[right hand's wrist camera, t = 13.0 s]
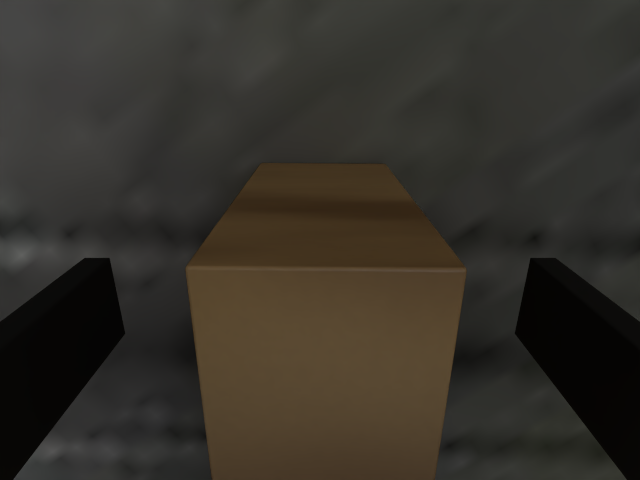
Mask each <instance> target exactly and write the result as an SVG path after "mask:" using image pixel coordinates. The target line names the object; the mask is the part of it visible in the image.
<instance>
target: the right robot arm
mask: <svg viewBox="0 0 640 480" xmlns="http://www.w3.org/2000/svg"><path fill="white" fill-rule="evenodd" d="M124 334H125V330H124V326H123V321H122V316H121V311H120V306H119V302H118V297H117V292H116V287H115V282H114V278H113V273H112V268H111V263H110V258H84V259H83V260H81V261H80V262H79V263H77V264H76V265H75V266H73V267H72V268H71V269H70V270H68V271H67V272H66V273H64V274H63V275H62V276H60V277H59V278H58V279H56V280H55V281H54V282H52V283H51V284H50V285H48V286H47V287H46V288H44V289H43V290H42V291H40V292H39V293H38V294H37V295H35V296H34V297H33V298H31V299H30V300H29V301H27V302H26V303H25V304H23V305H22V306H21V307H19V308H18V309H17V310H15V311H14V312H13V313H11V314H10V315H9V316H7V317H6V318H5V319H4V320H2V321H1V322H0V480H13V479H14V478H15V476H16V475H17V474H18V472H19V471H20V470H21V468H22V467H23V466H24V465H25V463H26V462H27V461H28V459H29V458H30V457H31V455H32V454H33V453H34V452H35V450H36V449H37V448H38V446H39V445H40V444H41V442H42V441H43V440H44V438H45V437H46V436H47V435H48V433H49V432H50V431H51V429H52V428H53V427H54V425H55V424H56V423H57V422H58V420H59V419H60V418H61V416H62V415H63V414H64V412H65V411H66V410H67V409H68V407H69V406H70V405H71V403H72V402H73V401H74V399H75V398H76V397H77V396H78V394H79V393H80V392H81V390H82V389H83V388H84V386H85V385H86V384H87V383H88V381H89V380H90V379H91V377H92V376H93V375H94V373H95V372H96V371H97V369H98V368H99V367H100V366H101V364H102V363H103V362H104V360H105V359H106V358H107V356H108V355H109V354H110V353H111V351H112V350H113V349H114V347H115V346H116V345H117V343H118V342H119V341H120V340H121V338H122V337H123V336H124ZM515 334H516V336H517V337H518V338H519V340H520V341H521V342H522V343H523V345H524V346H525V347H526V349H527V350H528V351H529V353H530V354H531V355H532V356H533V358H534V359H535V360H536V362H537V363H538V364H539V366H540V367H541V368H542V369H543V371H544V372H545V373H546V375H547V376H548V377H549V379H550V380H551V381H552V382H553V384H554V385H555V386H556V388H557V389H558V390H559V392H560V393H561V394H562V396H563V397H564V398H565V399H566V401H567V402H568V403H569V405H570V406H571V407H572V409H573V410H574V411H575V412H576V414H577V415H578V416H579V418H580V419H581V420H582V422H583V423H584V424H585V425H586V427H587V428H588V429H589V431H590V432H591V433H592V435H593V436H594V437H595V438H596V440H597V441H598V442H599V444H600V445H601V446H602V448H603V449H604V450H605V452H606V453H607V454H608V455H609V457H610V458H611V459H612V461H613V462H614V463H615V465H616V466H617V467H618V468H619V470H620V471H621V472H622V474H623V475H624V476H625V478H626V479H627V480H640V322H639V321H638V320H636V319H635V318H634V317H633V316H631V315H630V314H629V313H627V312H626V311H625V310H623V309H622V308H621V307H619V306H618V305H617V304H615V303H614V302H613V301H611V300H610V299H609V298H607V297H606V296H605V295H603V294H602V293H601V292H600V291H598V290H597V289H596V288H594V287H593V286H592V285H590V284H589V283H588V282H586V281H585V280H584V279H582V278H581V277H580V276H578V275H577V274H576V273H574V272H573V271H572V270H570V269H569V268H568V267H567V266H565V265H564V264H563V263H561V262H560V261H559V260H557V259H556V258H530V263H529V268H528V273H527V278H526V282H525V287H524V292H523V297H522V302H521V306H520V311H519V316H518V321H517V326H516V330H515Z"/></svg>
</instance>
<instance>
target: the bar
mask: <svg viewBox="0 0 640 480" xmlns="http://www.w3.org/2000/svg"><path fill="white" fill-rule="evenodd" d="M185 271H186V279H187V287H188V295H189V303H190V311H191V318H192V326H193V334H194V342H195V350H196V358H197V366H198V374H199V382H200V390H201V398H202V406H203V414H204V422H205V430H206V437H207V445H208V453H209V461H210V469H211V477H212V480H435V474H436V468H437V461H438V455H439V448H440V442H441V435H442V429H443V422H444V416H445V409H446V403H447V396H448V390H449V383H450V377H451V370H452V364H453V357H454V351H455V344H456V338H457V331H458V325H459V318H460V312H461V305H462V299H463V292H464V286H465V279H466V273H467V270H466V267H465V266H464V265H463V264H462V262H461V261H460V260H459V258H458V257H457V256H456V254H455V253H454V252H453V251H452V249H451V248H450V247H449V245H448V244H447V243H446V242H445V240H444V239H443V238H442V236H441V235H440V234H439V233H438V231H437V230H436V229H435V227H434V226H433V225H432V224H431V222H430V221H429V220H428V218H427V217H426V216H425V215H424V213H423V212H422V211H421V209H420V208H419V207H418V205H417V204H416V203H415V202H414V200H413V199H412V198H411V196H410V195H409V194H408V193H407V191H406V190H405V189H404V187H403V186H402V185H401V184H400V182H399V181H398V180H397V178H396V177H395V176H394V175H393V173H392V172H391V171H390V169H389V168H388V167H387V166H386V164H333V163H261V164H260V165H259V166H258V168H257V169H256V171H255V172H254V173H253V175H252V176H251V177H250V179H249V180H248V182H247V183H246V184H245V186H244V187H243V188H242V190H241V191H240V193H239V194H238V195H237V197H236V198H235V199H234V201H233V202H232V204H231V205H230V206H229V208H228V209H227V210H226V212H225V213H224V215H223V216H222V217H221V219H220V220H219V221H218V223H217V224H216V226H215V227H214V228H213V230H212V231H211V232H210V234H209V235H208V237H207V238H206V239H205V241H204V242H203V243H202V245H201V246H200V248H199V249H198V250H197V252H196V253H195V254H194V256H193V257H192V259H191V260H190V261H189V263H188V264H187V265H186V268H185Z"/></svg>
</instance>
